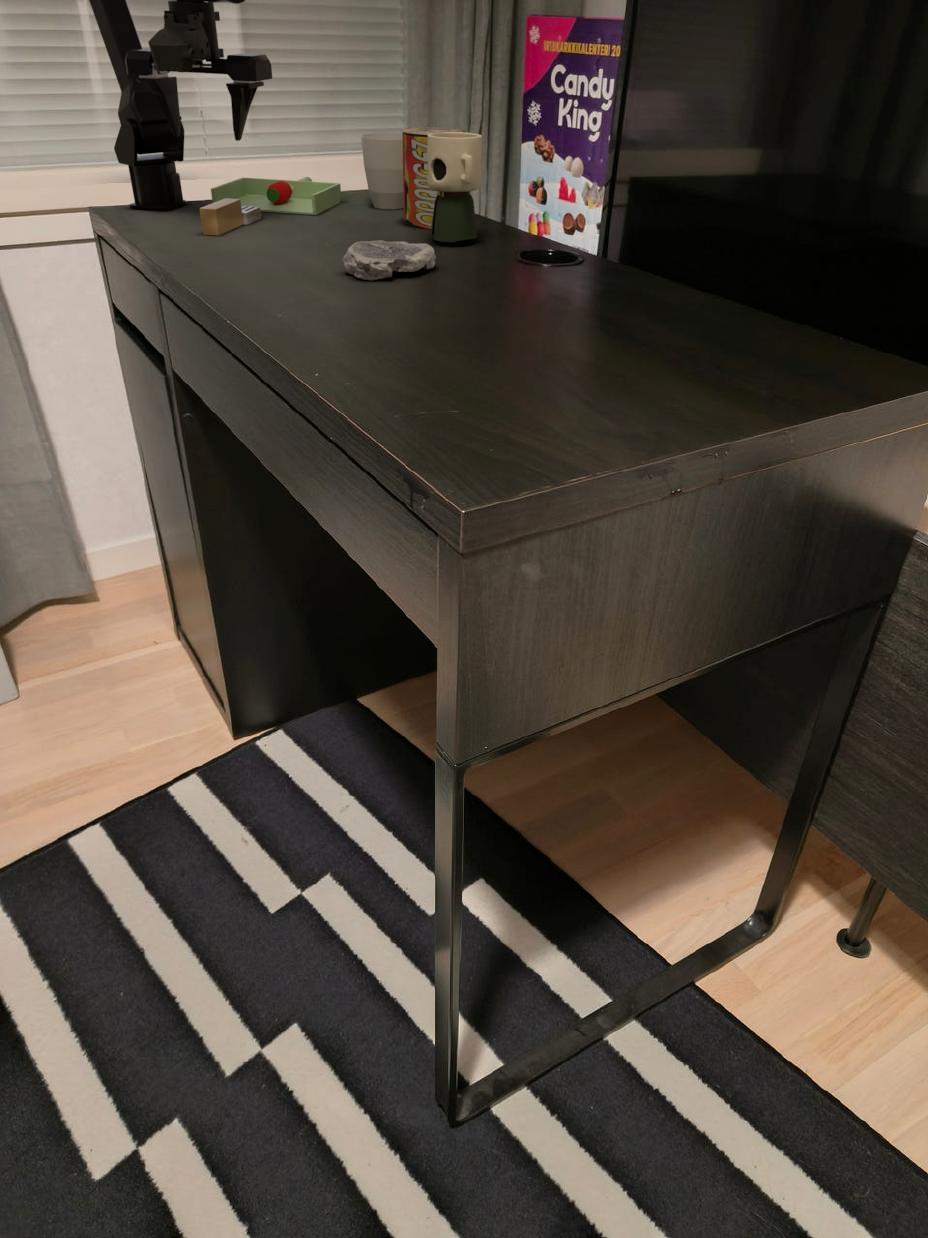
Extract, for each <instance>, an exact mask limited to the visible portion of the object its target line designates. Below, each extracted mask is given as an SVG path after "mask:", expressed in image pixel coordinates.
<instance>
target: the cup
mask: <svg viewBox="0 0 928 1238" xmlns="http://www.w3.org/2000/svg"><path fill="white" fill-rule="evenodd" d="M360 137H361V149H362V159H363V167H364V173H365V178H366V183H367V188H368V192H369V196H370V198H371V202H372V204H373V208H375V209H379V210H400V209H404V203H403V148H402V132H401V133H400V132H370V133H365V134H364V133H363V134H361V135H360Z"/></svg>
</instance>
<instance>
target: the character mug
mask: <svg viewBox="0 0 928 1238" xmlns="http://www.w3.org/2000/svg"><path fill="white" fill-rule="evenodd" d="M427 140H428V148H427V155H428V177H427V181H428V186H429V188H431V189H433V190H436V191H437V194H438V195H437V197H436V199H435V204H434V211H433V219H432V229H430V238H431V239H432V238H433V240H434V241H437V242H441V243H455V245H460V243H461V241H466V240H473V239H476V238H477V223H476V222H477V221H476V211H475V200H474V198H473V196H472V194H471V192H473V191H477V190H479V189H480V188H481V187H482V186H481V185H482V163H483V162H482V161H483V160H482V159H483V135H481V134H479V133H474V132H468V131H467V132H466V131H465V132H439V133H431V134H428V139H427Z"/></svg>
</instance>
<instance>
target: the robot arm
mask: <svg viewBox="0 0 928 1238" xmlns="http://www.w3.org/2000/svg"><path fill="white" fill-rule="evenodd" d="M88 2H89V5H90V7H91V10H92V12H93V15H94V18H95V21H96V24H97V27H98V29H99V32H100V35H101V39H102V41H103V43H104V46H105V50H106V52H107V55H108V57H109V58H108V59H109V60H110V64H111V66H112V69H113V72H114V75H115V78H116V80H117V84H118V85H119V89H120V99H119V103H118V108H117V109H118V110H117V116H118V120H119V124H120V127H119V130H118V133H117V136H116V140H115V143H114V147H113V149H114V150H113V151H114V152H115V156H116V159H117V162H118V163H119V164H121V165H126V166H128V172H129V177H130V183H131V189H132V195H133V200H134V202H132V203H130V204H129V208H130V209H143V210H145V209H146V210H157V211H170V210H171V209H175V208H177V207H180V206H183V205H185V204H187V200H186V199H184V196H183V189H182V183H181V175H180V173H179V172H177V165H176V162H179V163H181V162H184V156H185V128H184V125H183V121H182V119H183V118H182V116H181V115H180V114H181V111H180V102H179V90H178V89H179V88H178V80H177V79H178V78H177V76H173V75H172V76H171V75H169V74H170V72H177V73H193V74H194V73H195V74H211V75H212V74H215V75H227V76H228V77H229V78H230V79H231V80H232V81H233V82H226V83H225V87H226V88H227V91H228V93H229V95H230V101H231V102H230V103H231V115H232V116H231V118H232V129H233V135H234V136H233V137H234V140H235V141H237V142H239V141H241V140H242V138H243V134H244V131H245V127H246V124H247V119H248V115H249V112H250V109H251V106H252V103H253V101H254V98H255V96H256V93H257V91H258V88H261V87H264V86H265V81H266V80H272V79H273V69H272V63H271V61H270V59H269V58H268V56H267V55H266V54H263V53H262V54H261V53H260V54H259V53H233V54H227V55H226V58H225V55H224V48H219V39H218V30H217V22H220V21H221V19H220V11H216V10H215V3H217V4H234V5H238V4H241V3H244V2H246V0H167V6H168V10H163V23H164V25H163V28H161V29H159V30H158V31H157V32H155V34H154V35H153V36H152V37H151V38H150V39H149V40H148V42H147V43H148V46H149V48H143V46H142V42H141V40H140V37H139V34H138V31H137V28H136V26H135V22H134V20H133V17H132V14H131V10H130V8H129V5H128V2H127V0H88ZM204 61H205V62H204Z"/></svg>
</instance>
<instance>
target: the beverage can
mask: <svg viewBox="0 0 928 1238" xmlns="http://www.w3.org/2000/svg"><path fill="white" fill-rule="evenodd" d="M439 132H466V131H465V130H462V129H457V128H449V127H411V128H404V129H402V130H401V133H402V148H403V203H404V208H403V224H405V225H406V226H408V227H414V228H420V229H430V230H431V229H432V219H433V211H434V204H435V199H436V197H437V195H438V194H437V191H436V190H433V189H431V188H429V186H428V181H427V177H428V155H427V148H428V140H427V139H428V134H431V133H439Z"/></svg>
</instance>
